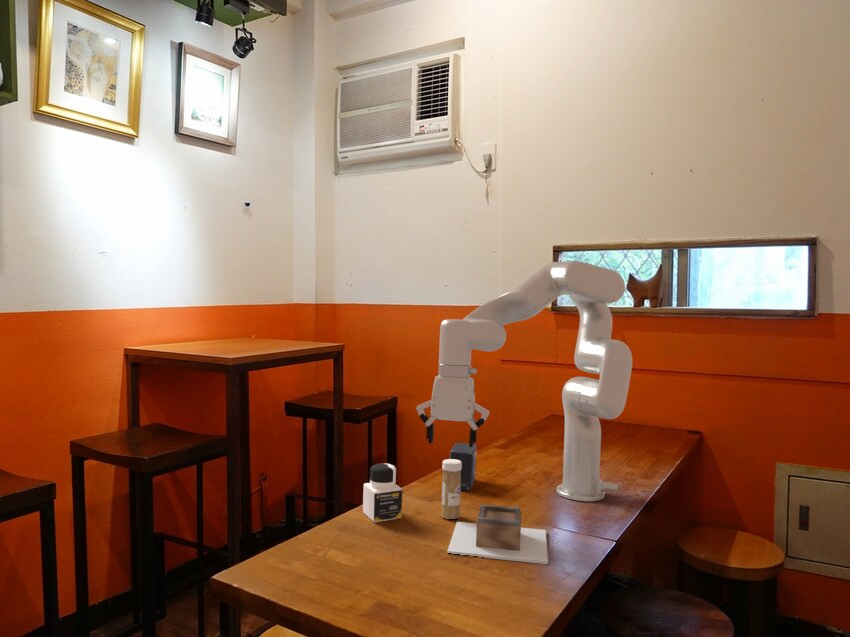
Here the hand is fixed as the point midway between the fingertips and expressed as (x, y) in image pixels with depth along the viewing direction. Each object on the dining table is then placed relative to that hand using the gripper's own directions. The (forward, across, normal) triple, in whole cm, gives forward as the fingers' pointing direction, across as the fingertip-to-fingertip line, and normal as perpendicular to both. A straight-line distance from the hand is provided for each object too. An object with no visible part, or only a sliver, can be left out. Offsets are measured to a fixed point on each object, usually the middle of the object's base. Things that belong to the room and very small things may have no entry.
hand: (450, 444), depth 137 cm
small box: (+18, -1, -26) cm, 31 cm away
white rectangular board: (+18, -13, +12) cm, 24 cm away
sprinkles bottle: (+18, -1, 0) cm, 18 cm away
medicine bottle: (+18, +15, +2) cm, 24 cm away
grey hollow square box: (+18, -13, +12) cm, 24 cm away
